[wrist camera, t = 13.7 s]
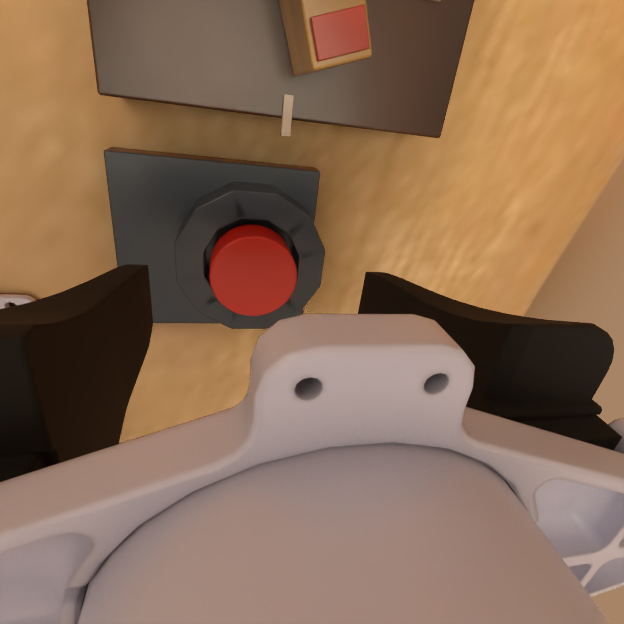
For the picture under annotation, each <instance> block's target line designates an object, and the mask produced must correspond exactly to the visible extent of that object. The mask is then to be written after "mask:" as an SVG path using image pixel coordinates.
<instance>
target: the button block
mask: <svg viewBox="0 0 624 624" xmlns="http://www.w3.org/2000/svg"><path fill="white" fill-rule="evenodd" d="M104 158H105V166H106V175H107V183H108V191H109V199H110V208H111V216H112V224H113V233H114V241H115V249H116V258H117V266H118V267H120V266H122V265H126V264H132V265H148V270H149V281H150V293H151V304H152V315H153V323H221V324H223V325H225V326H227V327H231V328H232V329H266V328H269V327H271V326H273V325H274V324H275V323H277V322H278V321H279V320H282V319H286V318H290V317H295V316H299V315H303V308H304V306H305V305H306V304H307V302H308V301H309V300H310V298H311V297H312V296H313V294H314V293H315V292H316V291H317V289H318V288H319V287H320V284H321V277H322V270H323V263H324V256H325V250H324V246H323V244H322V242H321V239H320V237H319V235H318V232H317V230H316V228H315V225H314V219H315V210H316V202H317V194H318V186H319V178H320V171H318V170H317V169H316V168H314V167H304V166H294V165H284V164H274V163H264V162H254V161H244V160H234V159H224V158H214V157H204V156H194V155H184V154H174V153H164V152H154V151H144V150H134V149H124V148H114V147H111V148H109V149H107V150H104ZM248 224H254V225H261V226H265V227H267V228H270V229H271V230H273V231H275V232H276V233H277V234H279V235H280V236H281V237H282V238H283V240H284V241H285V242H286V244H287V246H288V248H289V250H290V252H291V255H292V257H293V259H294V262H295V265H296V269H297V281H296V286H295V289H294V291H293V293H292V295H291V296H290V298H289V299H288V300H287V301H286V302H285V303H284V304H283V305H282V306H281V307H279V308H278V309H276V310H275V311H273V312H270V313H268V314H264V315H259V316H246V315H241V314H238V313H235V312H233V311H231V310H229V309H228V308H226V307H225V306H224V305H222V304H221V303H220V302H219V301H218V299H217V298H216V297H215V295H214V293H213V291H212V288H211V285H210V278H209V274H210V262H211V254H212V251H213V248H214V246H215V244H216V242H217V241H218V240H219V238H220V237H221V236H222V235H223V234H225V233H226V232H227V231H229V230H231V229H233V228H235V227H238V226H242V225H248Z"/></svg>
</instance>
